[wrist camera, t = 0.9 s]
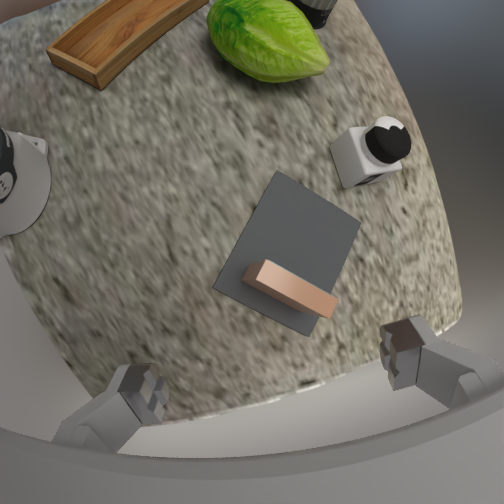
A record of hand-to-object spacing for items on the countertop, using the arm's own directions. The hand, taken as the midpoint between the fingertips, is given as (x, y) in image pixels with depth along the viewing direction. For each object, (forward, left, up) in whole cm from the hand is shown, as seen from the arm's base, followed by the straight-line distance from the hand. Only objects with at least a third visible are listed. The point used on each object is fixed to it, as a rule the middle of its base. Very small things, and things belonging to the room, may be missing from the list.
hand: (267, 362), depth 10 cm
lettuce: (-14, +40, -34) cm, 54 cm away
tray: (-40, +37, -34) cm, 64 cm away
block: (+7, +6, -33) cm, 35 cm away
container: (+10, +31, -34) cm, 47 cm away
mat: (+7, +12, -34) cm, 37 cm away
